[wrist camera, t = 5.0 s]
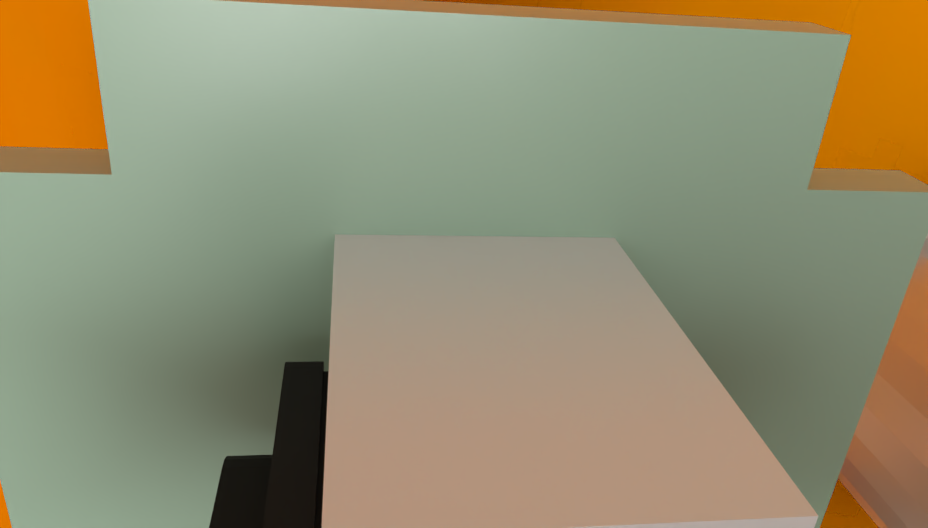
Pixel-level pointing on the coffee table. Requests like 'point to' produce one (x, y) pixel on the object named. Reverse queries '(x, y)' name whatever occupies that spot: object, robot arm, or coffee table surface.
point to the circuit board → (428, 147)
